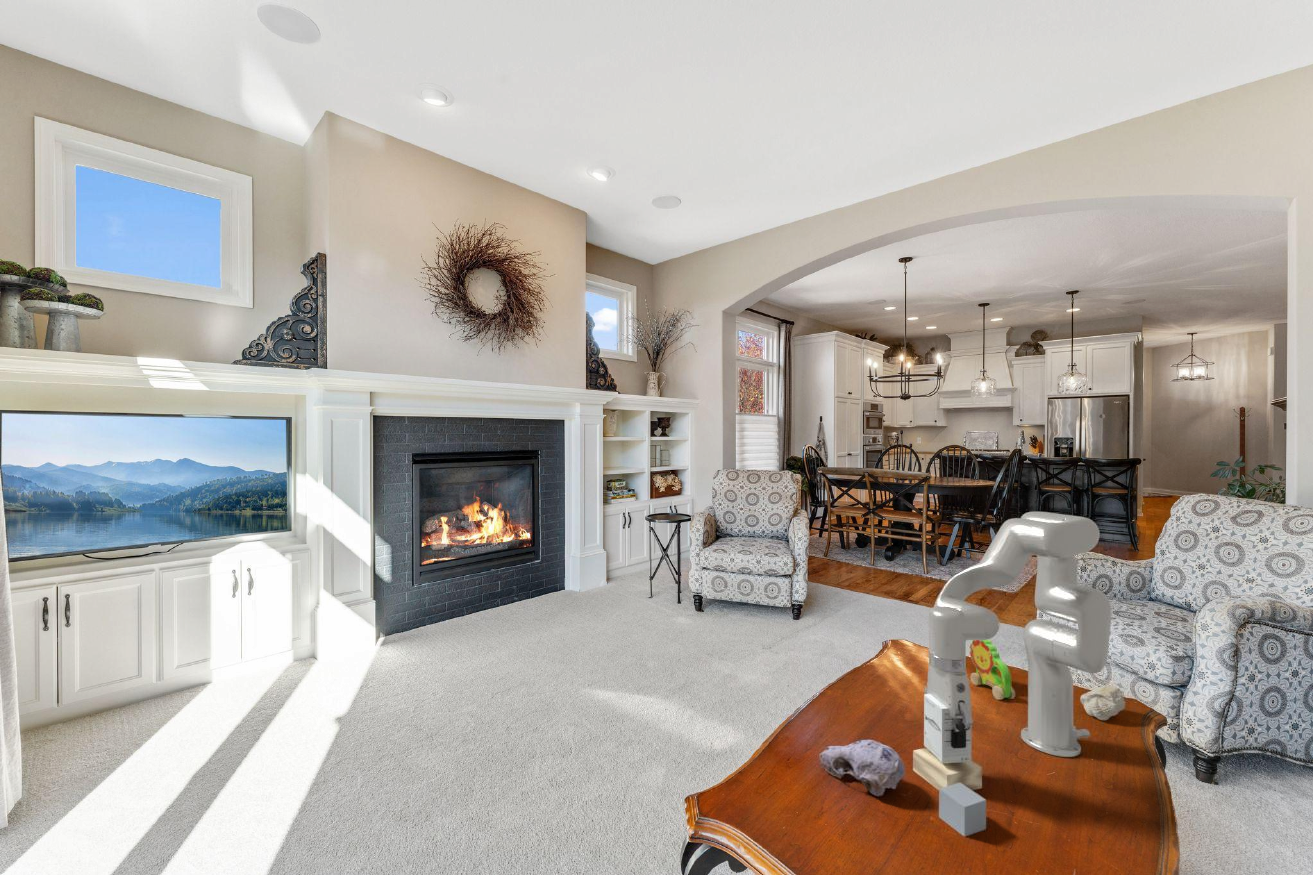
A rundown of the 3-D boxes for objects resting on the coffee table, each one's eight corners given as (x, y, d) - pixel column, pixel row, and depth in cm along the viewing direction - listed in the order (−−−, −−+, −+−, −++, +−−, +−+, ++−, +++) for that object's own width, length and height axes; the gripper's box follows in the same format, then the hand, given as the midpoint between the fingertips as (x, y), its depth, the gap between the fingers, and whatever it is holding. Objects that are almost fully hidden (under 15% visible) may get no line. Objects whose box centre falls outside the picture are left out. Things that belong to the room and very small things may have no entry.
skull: (813, 775, 131) (810, 731, 132) (842, 760, 138) (840, 719, 139) (888, 809, 115) (884, 759, 116) (917, 791, 122) (913, 744, 124)
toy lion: (1016, 701, 164) (1016, 651, 164) (1000, 702, 164) (1000, 651, 164) (980, 678, 180) (980, 632, 180) (964, 679, 180) (964, 633, 180)
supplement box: (922, 745, 130) (922, 693, 130) (952, 744, 131) (952, 691, 131) (941, 764, 123) (941, 708, 123) (972, 762, 124) (972, 706, 124)
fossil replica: (1081, 719, 154) (1127, 732, 149) (1085, 692, 153) (1131, 704, 148) (1076, 699, 164) (1119, 710, 159) (1079, 672, 164) (1123, 683, 158)
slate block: (960, 810, 116) (960, 782, 116) (986, 829, 111) (986, 799, 111) (939, 817, 114) (939, 788, 114) (964, 837, 109) (964, 806, 109)
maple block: (946, 763, 133) (946, 743, 133) (981, 789, 124) (981, 767, 124) (913, 771, 130) (913, 750, 130) (947, 797, 121) (947, 775, 121)
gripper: (988, 677, 119) (988, 758, 119) (939, 646, 136) (939, 717, 136) (956, 679, 118) (956, 760, 118) (910, 648, 135) (910, 719, 135)
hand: (947, 737), depth 127 cm, fingers closed on supplement box, 7 cm apart
